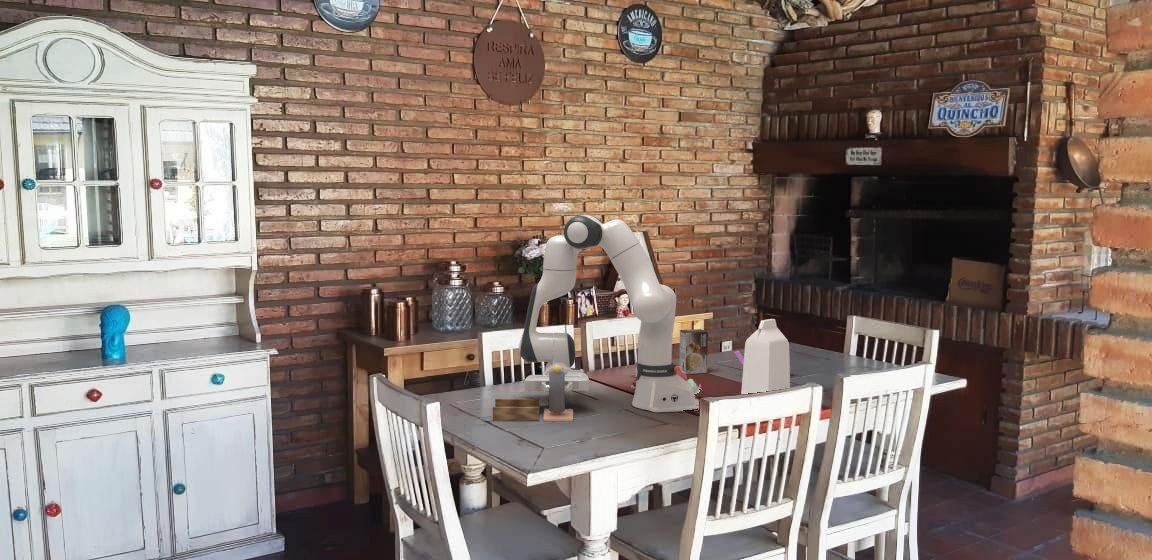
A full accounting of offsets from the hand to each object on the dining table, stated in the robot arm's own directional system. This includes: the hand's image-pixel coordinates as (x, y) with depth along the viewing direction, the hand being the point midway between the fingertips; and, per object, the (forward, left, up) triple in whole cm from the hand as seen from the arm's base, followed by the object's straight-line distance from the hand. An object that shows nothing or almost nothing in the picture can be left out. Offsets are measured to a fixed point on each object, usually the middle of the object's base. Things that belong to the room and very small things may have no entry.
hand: (556, 388), depth 277 cm
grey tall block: (0, -1, -7) cm, 7 cm away
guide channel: (+12, -1, -9) cm, 15 cm away
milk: (-72, -29, -9) cm, 78 cm away
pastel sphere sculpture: (-39, -36, -9) cm, 54 cm away
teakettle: (-77, -59, -9) cm, 97 cm away
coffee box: (-52, -64, -9) cm, 83 cm away
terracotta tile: (-1, -1, -9) cm, 9 cm away
